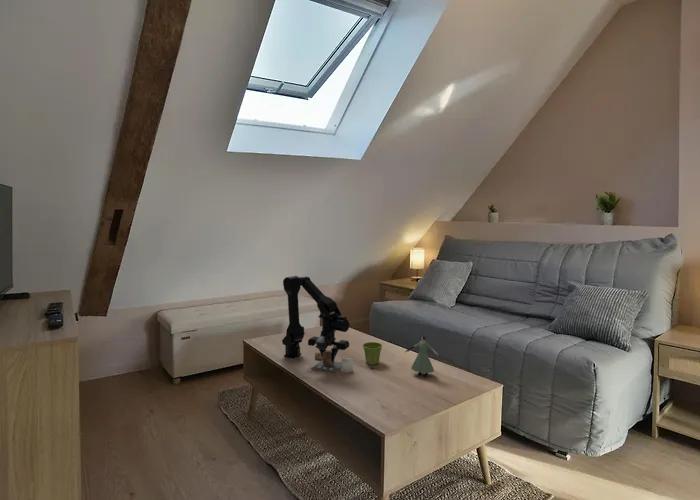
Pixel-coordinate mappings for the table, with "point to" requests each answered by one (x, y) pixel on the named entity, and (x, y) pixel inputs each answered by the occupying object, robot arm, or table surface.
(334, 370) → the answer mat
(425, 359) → the character figurine
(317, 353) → the beige round knob
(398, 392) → the table surface
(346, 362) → the white rounded block
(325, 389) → the table surface
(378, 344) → the plant pot
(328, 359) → the walnut block
